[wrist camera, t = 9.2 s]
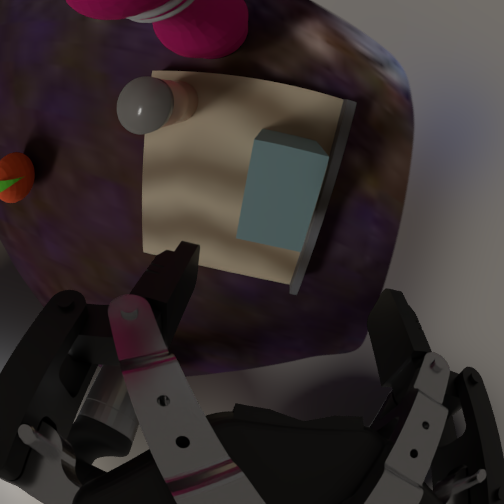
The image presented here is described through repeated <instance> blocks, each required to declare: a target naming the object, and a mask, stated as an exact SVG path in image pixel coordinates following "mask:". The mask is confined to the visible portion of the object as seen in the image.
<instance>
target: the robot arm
mask: <svg viewBox="0 0 504 504" xmlns="http://www.w3.org/2000/svg"><path fill="white" fill-rule="evenodd" d="M199 255H200V245H199V244H194V243H190V242H186V241H181V242H180V244H179V245H178V247H177V248H176V250H175V251H170V250H165V251H163V252H162V253H160V254H158V255H157V256H156V257H155V259H154V260H153V261H152V263H151V265H149V267H148V268H147V271H145V272H144V274H143V275H142V277H141V278H140V279H139V281H138V282H137V284H136V285H135V287H134V288H133V289H132V291H131V292H130V294H129V295H122V296H120V297H117V298H116V299H114V300H113V301H112V302H111V303H110V305H95V304H86V301H85V298H84V296H83V295H82V294H81V293H79V292H77V291H74V290H65V291H61V292H59V293H57V294H55V295H54V296H53V297H52V298H51V299H50V301H49V302H48V303H47V305H46V306H45V307H44V308H43V310H42V311H41V312H40V314H39V315H38V317H37V318H36V319H35V321H34V322H33V324H32V325H31V327H30V328H29V329H28V331H27V332H26V334H25V335H24V336H23V338H22V340H21V341H20V343H19V344H18V346H17V347H16V349H15V350H14V352H13V353H12V355H11V357H10V358H9V360H8V361H7V363H6V365H5V366H4V368H3V370H2V372H1V373H0V478H1V479H2V480H4V481H6V482H9V483H11V484H14V485H16V486H18V487H19V488H21V489H22V490H24V491H25V492H27V493H28V494H29V495H31V496H32V497H34V498H36V499H37V500H39V501H40V502H42V503H44V504H504V458H503V452H502V447H501V442H500V437H499V433H498V429H497V425H496V422H495V417H494V414H493V410H492V407H491V404H490V401H489V398H488V394H487V392H486V389H485V386H484V383H483V380H482V378H481V376H480V374H479V373H478V372H477V371H476V370H475V369H474V368H472V367H466V368H465V369H464V370H463V371H462V372H461V373H460V374H458V373H455V372H452V371H450V369H449V365H448V363H447V362H446V360H445V359H444V358H443V357H442V356H441V355H439V354H437V353H435V352H432V351H431V349H430V346H429V344H428V341H427V339H426V337H425V335H424V332H423V330H422V327H421V325H420V323H418V322H419V321H418V318H417V316H416V314H415V312H414V311H413V310H412V308H411V307H410V306H409V305H408V303H407V301H406V299H405V297H404V295H403V293H402V292H401V291H396V290H392V289H385V290H384V291H383V292H382V294H381V295H380V297H379V299H378V301H377V302H376V304H375V306H374V307H373V309H372V311H371V312H370V314H369V317H368V321H367V328H368V332H369V335H370V339H371V343H372V347H373V351H374V355H375V359H376V364H377V368H378V373H379V377H380V382H381V386H382V387H392V389H393V390H392V391H391V392H390V393H389V394H388V396H387V398H386V399H385V401H384V403H383V405H382V407H381V408H380V410H379V412H378V414H377V416H376V417H375V419H374V420H373V422H372V424H371V425H370V426H369V427H366V426H364V425H363V417H356V416H331V417H326V418H321V419H315V420H309V421H301V420H298V419H295V418H292V417H289V416H287V415H284V414H281V413H278V412H275V411H273V410H270V409H264V408H258V407H253V406H247V405H242V404H235V406H234V409H233V411H232V412H220V413H214V414H210V415H207V416H205V415H204V413H203V411H202V409H201V407H200V405H199V403H198V401H197V400H196V398H195V396H194V394H193V392H192V390H191V388H190V386H189V384H188V382H187V380H186V378H185V376H184V373H183V371H182V369H181V367H180V365H179V363H178V361H177V359H176V357H175V355H174V354H173V353H169V352H168V350H167V349H168V348H169V346H170V344H171V341H172V339H173V336H174V334H175V332H176V329H177V327H178V325H179V322H180V320H181V318H182V315H183V313H184V311H185V309H186V306H187V304H188V302H189V299H190V297H191V295H192V293H193V290H194V288H195V284H196V280H197V273H198V263H199ZM98 364H103V366H102V367H101V370H100V371H99V373H98V375H97V377H96V379H95V381H94V383H93V385H92V387H91V389H90V391H89V393H88V395H87V397H86V400H85V402H84V404H83V406H82V408H81V410H80V412H79V415H78V417H77V419H76V421H75V422H74V419H75V417H76V414H77V411H78V409H79V407H80V405H81V402H82V400H83V397H84V395H85V393H86V391H87V388H88V386H89V384H90V381H91V379H92V377H93V375H94V373H95V371H96V368H97V366H98ZM461 408H462V410H463V414H464V418H465V422H466V430H465V432H464V434H463V435H462V436H461V437H459V438H458V439H457V436H456V431H455V426H454V422H453V417H452V415H454V414H455V413H456V412H457V411H459V410H460V409H461ZM73 422H74V423H73ZM139 424H140V427H141V429H142V432H143V434H144V437H145V439H146V442H147V444H148V446H149V450H147V451H145V452H144V453H142V454H140V455H138V456H137V457H135V458H133V459H132V460H130V461H128V462H126V463H124V464H122V465H120V466H119V467H117V468H115V469H113V470H111V471H109V472H105V471H103V470H101V469H99V468H97V467H95V466H92V463H93V462H94V460H95V459H97V458H99V457H104V456H116V457H124V456H127V455H128V454H129V452H130V449H131V446H132V443H133V440H134V437H135V434H136V432H137V429H138V425H139ZM430 465H431V469H432V482H433V491H432V490H431V489H430V488H429V487H428V486H427V485H426V483H425V482H424V479H425V476H426V474H427V472H428V469H429V467H430Z"/></svg>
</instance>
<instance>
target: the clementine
mask: <svg viewBox="0 0 504 504" xmlns="http://www.w3.org/2000/svg"><path fill="white" fill-rule="evenodd" d="M34 179H35V171H34V166H33V164H32V161H31V160H30V158H29V157H28V156H26V155H25V154H23V153H19V152H15V153H10V154H8V155H6V156H5V157H4V158H2V159H1V160H0V199H1V200H2V201H4V202H7V203H15V202H17V201H20V200H22V199H23V198H24V197H26V196H27V194H28V193H29V192H30V190H31V188H32V186H33V183H34Z"/></svg>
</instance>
